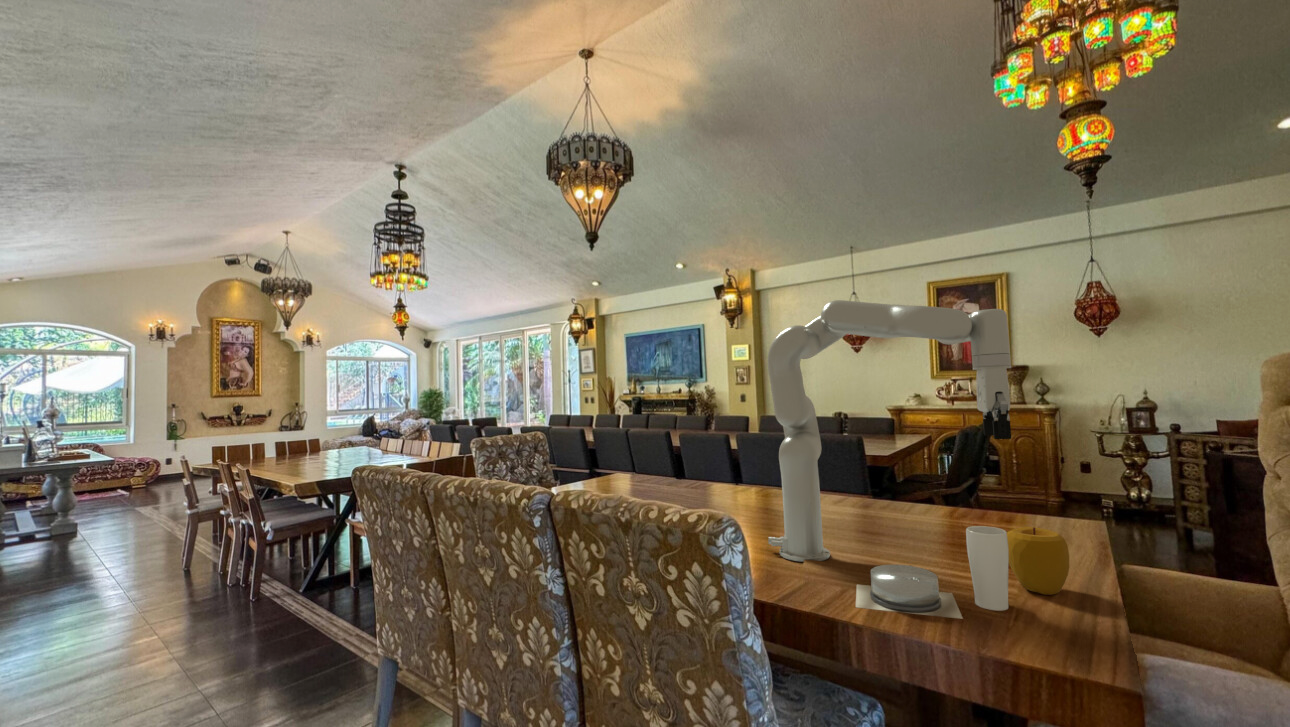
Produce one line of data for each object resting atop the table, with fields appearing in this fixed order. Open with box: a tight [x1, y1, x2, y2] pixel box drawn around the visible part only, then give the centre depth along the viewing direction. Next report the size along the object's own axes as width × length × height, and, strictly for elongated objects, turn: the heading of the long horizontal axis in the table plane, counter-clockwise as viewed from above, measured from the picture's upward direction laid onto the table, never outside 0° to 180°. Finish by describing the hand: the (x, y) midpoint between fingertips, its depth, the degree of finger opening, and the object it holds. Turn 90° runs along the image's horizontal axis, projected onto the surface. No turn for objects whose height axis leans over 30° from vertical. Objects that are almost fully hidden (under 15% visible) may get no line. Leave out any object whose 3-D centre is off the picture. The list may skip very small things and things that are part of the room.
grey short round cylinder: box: [870, 564, 941, 614], centre depth 106 cm, size 13×13×5 cm
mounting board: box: [855, 583, 964, 620], centre depth 106 cm, size 18×13×1 cm
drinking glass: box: [965, 525, 1010, 612], centre depth 103 cm, size 7×7×15 cm
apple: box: [1006, 526, 1070, 596], centre depth 111 cm, size 11×11×13 cm
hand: (997, 437), depth 124 cm, fingers open, 9 cm apart
